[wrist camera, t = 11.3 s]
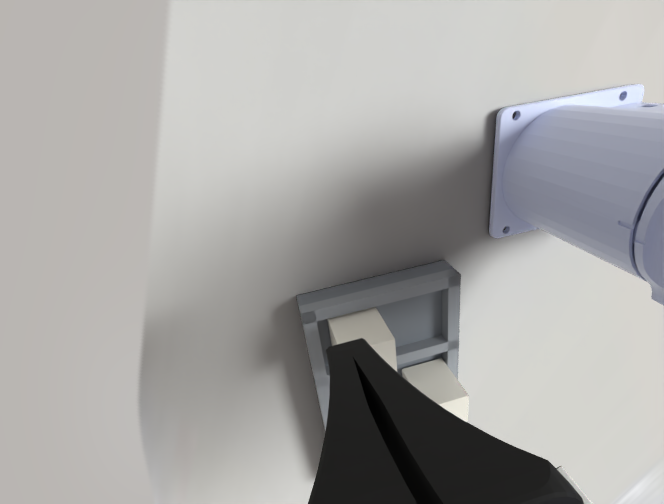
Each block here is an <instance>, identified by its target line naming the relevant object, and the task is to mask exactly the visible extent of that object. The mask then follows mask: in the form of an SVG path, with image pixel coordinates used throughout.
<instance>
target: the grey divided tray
mask: <svg viewBox="0 0 664 504" xmlns="http://www.w3.org/2000/svg"><path fill="white" fill-rule="evenodd" d="M460 280H461V274H460V273H459V272H458V271H456V270H455V269H454V268H453V267H452V266H451V265H450V264H448V263H447V262H446V261H445V260H443V261H438V262H434V263H430V264H426V265H422V266H418V267H413V268H409V269H405V270H401V271H397V272H393V273H388V274H384V275H380V276H376V277H372V278H368V279H363V280H359V281H355V282H351V283H347V284H343V285H339V286H334V287H330V288H326V289H322V290H318V291H314V292H309V293H305V294H301V295H297V296H296V297H297V302H298V307H299V312H300V316H301V321H302V326H303V330H304V335H305V340H306V345H307V349H308V354H309V359H310V363H311V368H312V373H313V378H314V382H315V387H316V392H317V396H318V401H319V406H320V411H321V415H322V420H323V425H324V430H325V432H326V425H327V417H328V407H329V395H330V370H329V365H328V359H327V354H326V349H327V348H328V347H330V346H332V344H331V338H330V333H329V327H328V321H327V319H329V318H333V317H337V316H340V315H344V314H348V313H352V312H356V311H360V310H364V309H368V308H372V307H376V309H377V310H378V312H379V314H380V315H381V317H382V318H383V320H384V322H385V323H386V325H387V327H388V328H389V330H390V332H391V333H392V335H393V337H394V338H395V347H396V361H397V372H398V373H399V374H400V375H401V376H402V369H404V368H408V367H411V366H415V365H418V364H422V363H426V362H429V361H433V360H436V359H440V358H442V359H443V361H444V362H445V363H446V365H447V366H448V368H449V369H450V370H451V372H452V373H453V374H454V376H455V377H456V378H457V380H458V351H459V316H460Z"/></svg>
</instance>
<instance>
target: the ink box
mask: <svg viewBox="0 0 664 504" xmlns="http://www.w3.org/2000/svg"><path fill="white" fill-rule="evenodd" d="M557 470H558V471H559V472H560V473H561V474H562V475H563V476H564V477H565V478H566V479H567V480H568V482H569V483H570V484H571V485H572V486H573V487H574V489H575V490H576V491H577V492H578V494H579V495H580V496H581V497H582V499H583V502H584V504H593V503H592V502H591V501H590V500H589V498H588V497H587V496H586V495H585V494H584V492H583V491H582V490H581V489H580V488H579V486H578V485H577V484H576V483H575V482H574V480H573V479H572V478H571V477H570V475H569V474H568V473H567V472H566V471H565V469H564V468H563V467H562V466H561V467H559V468H557Z"/></svg>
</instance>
